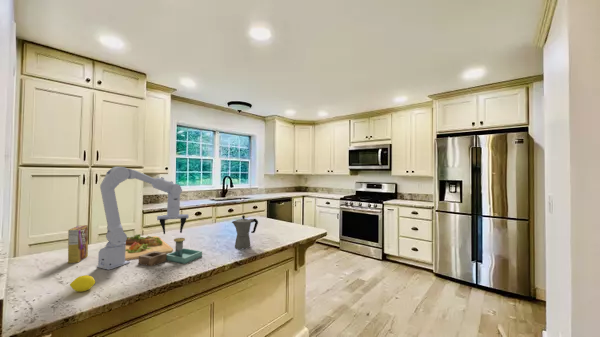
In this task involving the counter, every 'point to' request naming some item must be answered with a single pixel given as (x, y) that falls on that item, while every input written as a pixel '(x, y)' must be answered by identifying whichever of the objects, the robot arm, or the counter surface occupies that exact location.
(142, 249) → the cutting board
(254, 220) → the coffeepot
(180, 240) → the pin
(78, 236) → the candy box
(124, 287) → the counter surface
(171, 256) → the tray
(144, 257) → the block
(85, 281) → the lemon
